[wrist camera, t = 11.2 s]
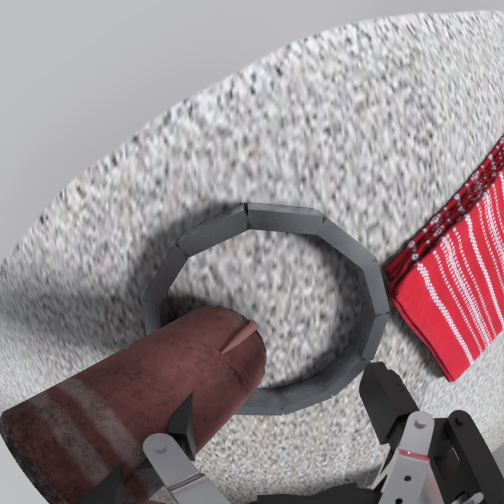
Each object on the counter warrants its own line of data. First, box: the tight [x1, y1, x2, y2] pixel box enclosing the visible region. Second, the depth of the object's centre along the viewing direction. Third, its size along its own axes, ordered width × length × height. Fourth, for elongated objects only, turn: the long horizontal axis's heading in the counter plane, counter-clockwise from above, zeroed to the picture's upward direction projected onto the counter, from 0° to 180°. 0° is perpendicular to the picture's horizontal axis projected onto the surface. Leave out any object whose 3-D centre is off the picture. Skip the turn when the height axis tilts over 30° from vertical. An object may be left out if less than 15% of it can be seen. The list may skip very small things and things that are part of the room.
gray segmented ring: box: [143, 203, 390, 415], centre depth 17 cm, size 15×15×2 cm
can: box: [0, 306, 266, 504], centre depth 11 cm, size 6×6×14 cm
